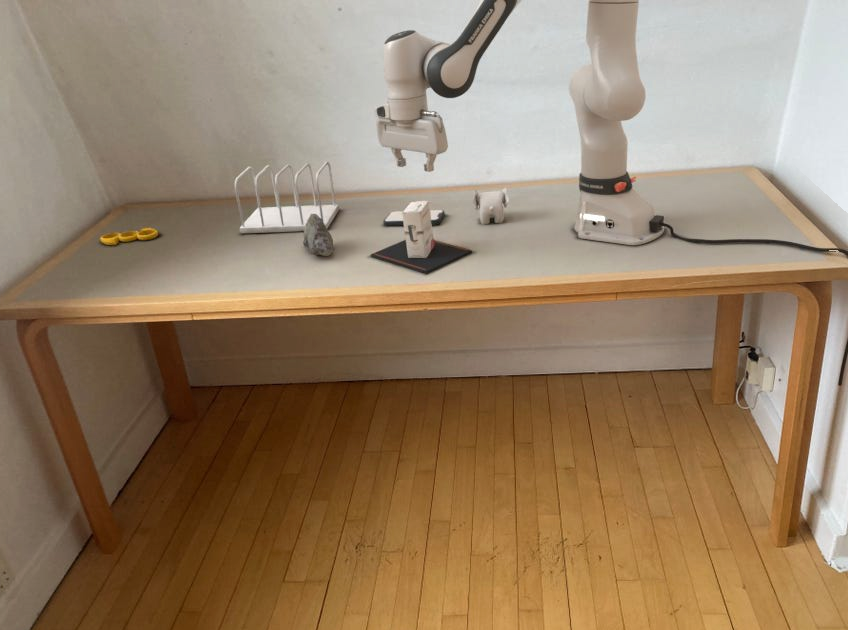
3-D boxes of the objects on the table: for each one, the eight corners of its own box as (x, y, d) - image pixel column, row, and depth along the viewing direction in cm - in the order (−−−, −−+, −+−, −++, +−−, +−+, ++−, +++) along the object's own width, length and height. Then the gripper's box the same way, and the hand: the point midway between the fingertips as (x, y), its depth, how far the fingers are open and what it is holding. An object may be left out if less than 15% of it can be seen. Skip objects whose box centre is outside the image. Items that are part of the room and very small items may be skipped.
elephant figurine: (507, 210, 216) (506, 179, 212) (510, 225, 206) (509, 192, 201) (473, 213, 217) (471, 182, 212) (474, 228, 206) (472, 195, 202)
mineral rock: (328, 262, 194) (322, 224, 189) (289, 262, 196) (282, 224, 191) (345, 244, 204) (340, 207, 199) (308, 243, 207) (301, 207, 202)
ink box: (415, 245, 197) (410, 200, 191) (434, 245, 196) (430, 200, 190) (406, 258, 190) (401, 212, 184) (426, 258, 189) (421, 211, 183)
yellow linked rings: (152, 242, 219) (163, 230, 228) (151, 237, 218) (162, 225, 227) (95, 247, 220) (108, 235, 228) (94, 242, 219) (106, 230, 228)
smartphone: (383, 227, 214) (439, 225, 210) (382, 221, 213) (438, 220, 209) (391, 216, 222) (445, 214, 218) (390, 211, 221) (445, 209, 217)
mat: (472, 252, 191) (472, 250, 191) (426, 274, 182) (426, 271, 181) (416, 237, 204) (416, 234, 204) (370, 256, 195) (370, 254, 194)
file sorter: (240, 234, 218) (228, 180, 211) (258, 214, 233) (248, 163, 226) (326, 230, 215) (317, 175, 207) (339, 210, 230) (331, 158, 222)
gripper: (450, 108, 171) (456, 170, 178) (389, 102, 185) (396, 160, 191) (430, 115, 168) (437, 178, 174) (369, 108, 181) (377, 167, 188)
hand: (415, 168), depth 183 cm, fingers open, 8 cm apart
